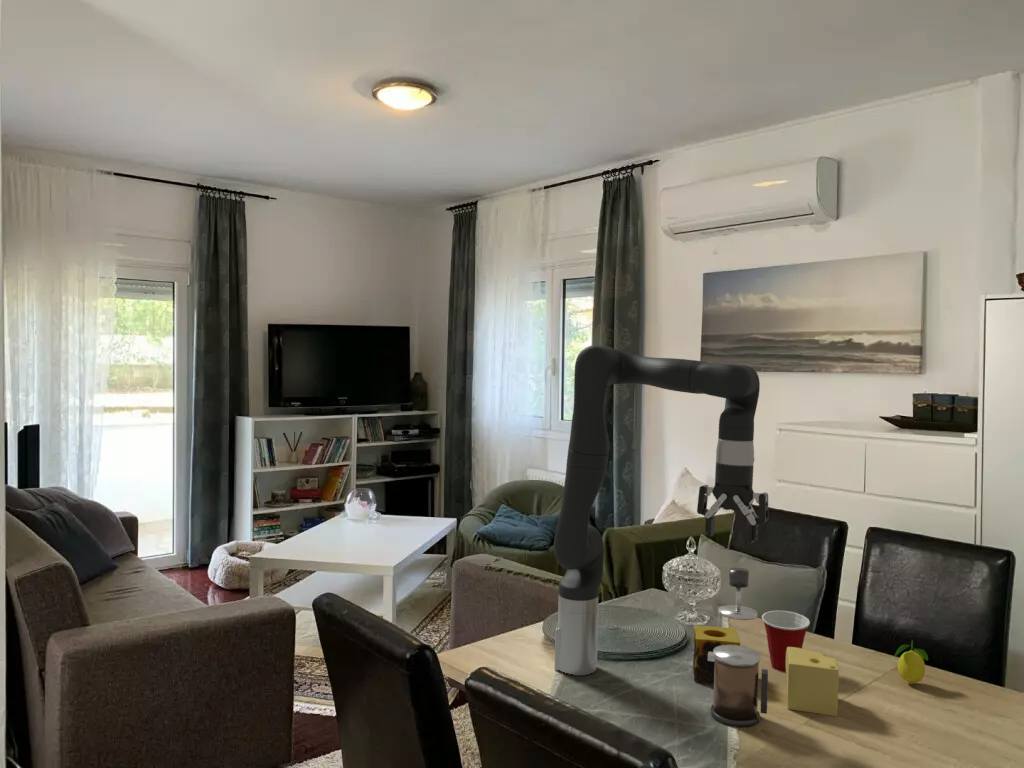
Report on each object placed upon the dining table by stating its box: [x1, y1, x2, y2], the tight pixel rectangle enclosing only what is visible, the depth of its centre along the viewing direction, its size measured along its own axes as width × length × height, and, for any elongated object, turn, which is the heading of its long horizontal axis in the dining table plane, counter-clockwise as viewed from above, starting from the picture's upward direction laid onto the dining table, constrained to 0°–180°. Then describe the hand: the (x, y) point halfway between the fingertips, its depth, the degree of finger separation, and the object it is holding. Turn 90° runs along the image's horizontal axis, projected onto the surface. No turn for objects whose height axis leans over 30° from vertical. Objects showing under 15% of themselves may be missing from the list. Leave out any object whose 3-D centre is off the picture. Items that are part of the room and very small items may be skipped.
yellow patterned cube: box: [692, 624, 741, 685], centre depth 180 cm, size 10×10×10 cm
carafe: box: [708, 645, 769, 728], centre depth 159 cm, size 12×10×13 cm
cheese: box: [785, 647, 840, 717], centre depth 166 cm, size 10×11×10 cm
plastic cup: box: [761, 610, 811, 673], centre depth 186 cm, size 11×11×12 cm
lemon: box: [894, 639, 929, 685], centre depth 178 cm, size 7×6×10 cm
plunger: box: [717, 567, 758, 621], centre depth 159 cm, size 8×8×9 cm
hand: (730, 538), depth 163 cm, fingers open, 8 cm apart
